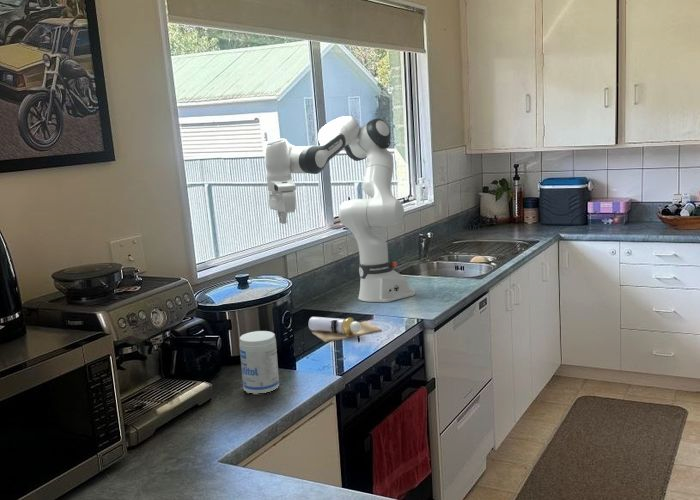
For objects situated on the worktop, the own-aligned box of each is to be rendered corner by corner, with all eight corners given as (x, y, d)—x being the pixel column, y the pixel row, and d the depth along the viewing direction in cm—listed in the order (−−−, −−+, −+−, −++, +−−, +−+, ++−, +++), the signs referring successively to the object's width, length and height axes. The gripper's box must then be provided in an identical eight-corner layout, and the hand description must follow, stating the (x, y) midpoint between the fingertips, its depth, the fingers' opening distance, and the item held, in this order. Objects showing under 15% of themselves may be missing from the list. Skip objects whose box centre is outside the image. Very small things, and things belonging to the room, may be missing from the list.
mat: (366, 322, 238) (366, 321, 238) (381, 331, 227) (381, 329, 227) (312, 333, 231) (311, 331, 230) (325, 342, 220) (325, 340, 220)
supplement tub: (236, 393, 182) (231, 340, 179) (255, 380, 190) (250, 329, 188) (268, 397, 178) (263, 342, 175) (286, 383, 186) (281, 331, 184)
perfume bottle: (315, 313, 234) (364, 316, 223) (316, 330, 235) (365, 334, 223) (305, 316, 229) (354, 319, 218) (306, 333, 230) (355, 338, 218)
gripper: (262, 184, 256) (266, 221, 258) (280, 187, 237) (283, 227, 239) (279, 182, 258) (282, 219, 260) (297, 185, 239) (300, 224, 242)
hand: (283, 223), depth 250 cm, fingers closed
